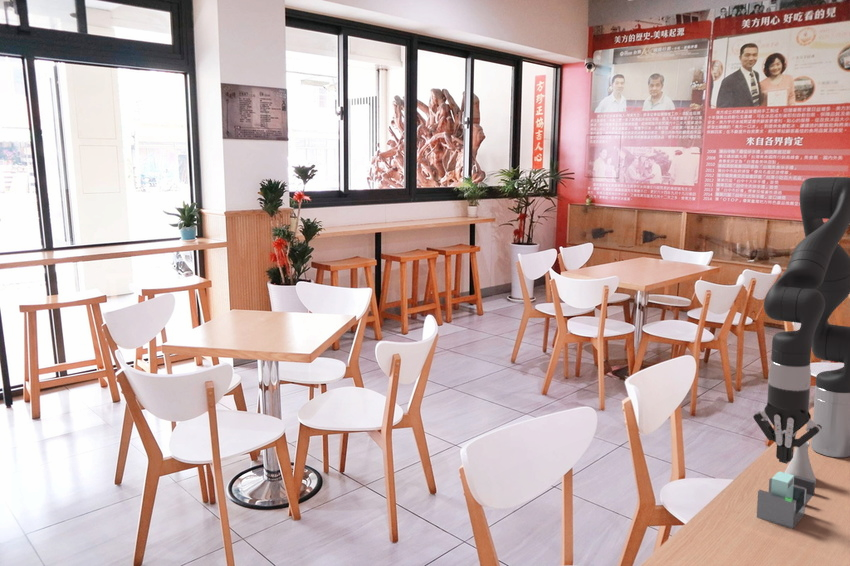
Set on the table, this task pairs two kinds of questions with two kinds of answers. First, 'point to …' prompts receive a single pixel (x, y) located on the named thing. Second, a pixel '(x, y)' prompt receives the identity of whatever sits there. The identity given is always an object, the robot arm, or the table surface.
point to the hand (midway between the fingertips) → (784, 461)
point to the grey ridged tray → (807, 484)
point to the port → (781, 506)
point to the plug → (783, 484)
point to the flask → (801, 463)
